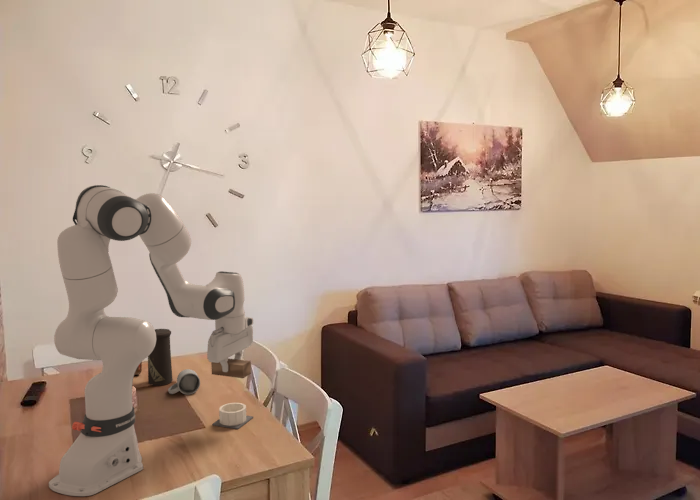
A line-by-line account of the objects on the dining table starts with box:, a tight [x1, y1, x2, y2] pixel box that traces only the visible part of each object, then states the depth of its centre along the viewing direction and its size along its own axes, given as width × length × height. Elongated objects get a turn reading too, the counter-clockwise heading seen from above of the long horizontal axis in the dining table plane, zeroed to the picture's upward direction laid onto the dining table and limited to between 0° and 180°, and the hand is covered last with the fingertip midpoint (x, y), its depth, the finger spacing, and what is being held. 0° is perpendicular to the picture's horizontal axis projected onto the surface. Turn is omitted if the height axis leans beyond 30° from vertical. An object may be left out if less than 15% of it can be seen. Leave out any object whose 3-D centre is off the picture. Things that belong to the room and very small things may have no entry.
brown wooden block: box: [210, 357, 252, 379], centre depth 168 cm, size 4×11×4 cm, turn 70°
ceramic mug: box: [167, 368, 201, 396], centre depth 196 cm, size 11×8×8 cm
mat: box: [211, 415, 254, 430], centre depth 170 cm, size 9×9×1 cm
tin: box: [134, 361, 143, 376], centre depth 217 cm, size 15×3×8 cm, turn 39°
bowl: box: [218, 402, 247, 426], centre depth 170 cm, size 8×8×4 cm
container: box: [147, 328, 173, 387], centre depth 205 cm, size 9×9×20 cm
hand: (231, 368), depth 168 cm, fingers closed on brown wooden block, 4 cm apart
